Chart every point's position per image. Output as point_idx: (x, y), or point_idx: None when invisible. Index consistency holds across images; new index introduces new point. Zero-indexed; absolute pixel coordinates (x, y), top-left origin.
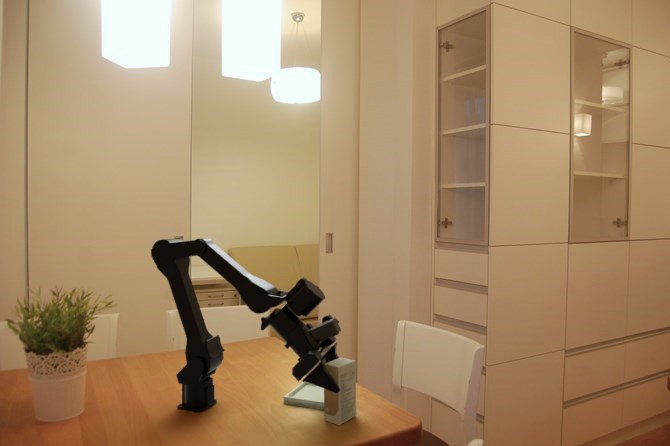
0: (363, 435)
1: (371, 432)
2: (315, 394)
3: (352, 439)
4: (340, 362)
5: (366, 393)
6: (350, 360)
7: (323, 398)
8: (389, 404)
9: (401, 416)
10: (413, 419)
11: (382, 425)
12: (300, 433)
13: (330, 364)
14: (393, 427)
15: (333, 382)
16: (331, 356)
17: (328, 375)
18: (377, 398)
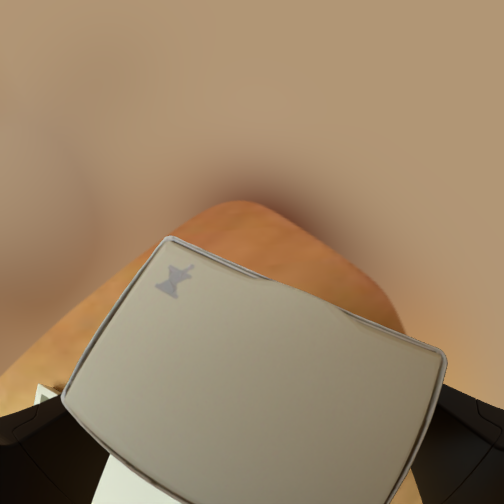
0: (365, 306)
1: (339, 289)
2: (97, 499)
3: (398, 329)
4: (277, 388)
5: (56, 334)
6: (171, 280)
7: (122, 477)
8: (129, 265)
9: (210, 228)
10: (225, 203)
11: (283, 267)
12: (403, 482)
13: (374, 484)
14: (287, 239)
15: (445, 388)
16: (26, 477)
17: (493, 407)
18: (88, 301)
